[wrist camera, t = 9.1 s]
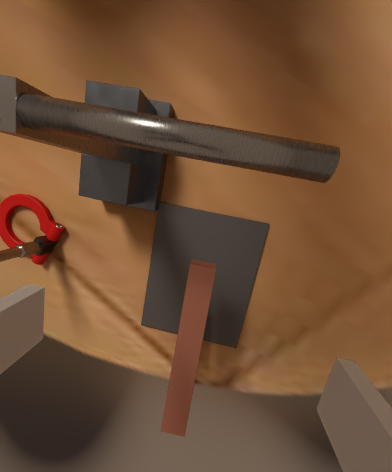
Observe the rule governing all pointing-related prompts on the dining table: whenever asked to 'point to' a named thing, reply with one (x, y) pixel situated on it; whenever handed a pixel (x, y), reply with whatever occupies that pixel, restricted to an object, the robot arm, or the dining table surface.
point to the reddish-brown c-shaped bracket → (188, 346)
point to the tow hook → (40, 244)
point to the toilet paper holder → (145, 141)
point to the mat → (208, 250)
